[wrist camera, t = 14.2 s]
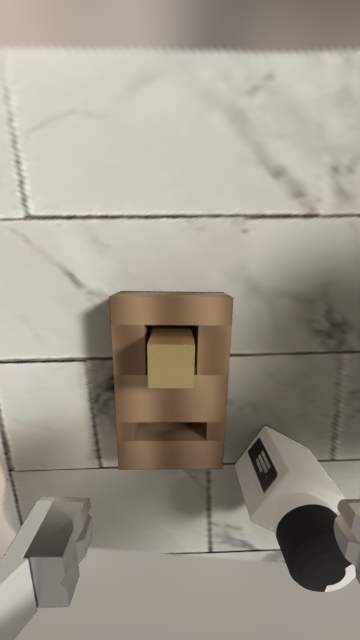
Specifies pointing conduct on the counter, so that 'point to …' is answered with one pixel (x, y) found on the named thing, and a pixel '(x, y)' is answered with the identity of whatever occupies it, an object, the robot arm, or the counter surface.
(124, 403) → the walnut socket block
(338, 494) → the container
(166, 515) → the counter surface
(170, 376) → the light wooden square bit
